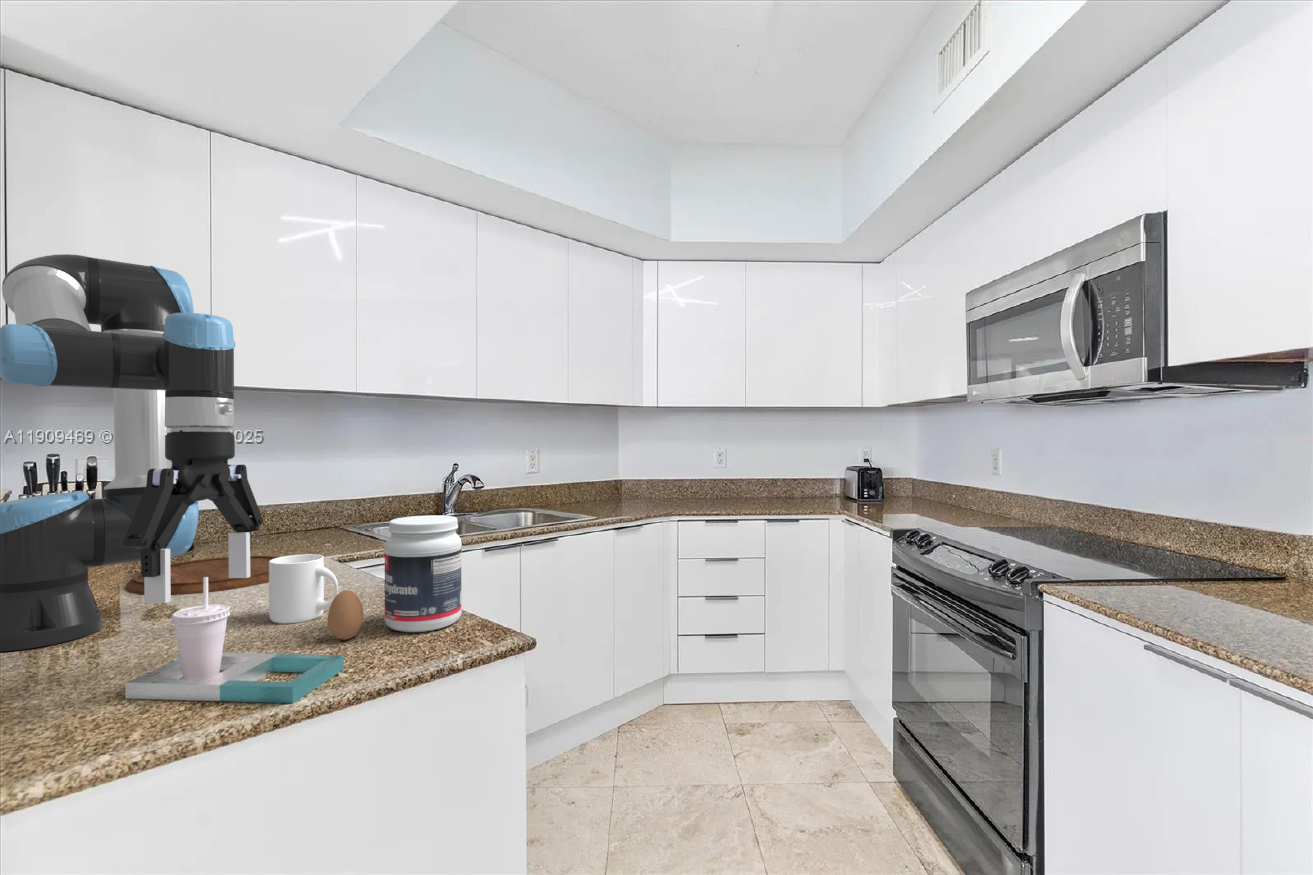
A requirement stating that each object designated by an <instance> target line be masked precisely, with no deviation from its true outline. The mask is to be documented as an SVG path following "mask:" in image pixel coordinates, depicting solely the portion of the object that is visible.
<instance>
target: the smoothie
mask: <svg viewBox="0 0 1313 875" xmlns="http://www.w3.org/2000/svg"><path fill="white" fill-rule="evenodd" d="M202 596H203V597H202V605H196V606H190V607H186V608H183V609H179V610H177V611H175V612H173V613H172V614H171V621H170V623H172V624H173V625H174V626H175V634H176V635H175V636H176V640H177V646H178V653H179V659H180V660H181V666H182V672H183V677H182V679H193V680H207V679H209V678H211V677H213V676H215V675H217V674H219V673H221V672H220V666H221V659H222V653H224V652H223V649H224V643H225V636H226V631H227V630H226V629H227V623H228V622H227V621H228V617H229V616H230V615H231V606H230V605H227V604H220V603H219V604H217V603H216V604H215V603H214V604H209V592H208V577H203V593H202Z"/></svg>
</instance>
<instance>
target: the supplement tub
mask: <svg viewBox="0 0 1313 875" xmlns="http://www.w3.org/2000/svg"><path fill="white" fill-rule="evenodd" d="M388 526H389V528H388V532H389V533H390V535H391V536H390V537H389V538H388V539H387V540H386V542H385V544H384V622H385V624H386V626H387V627H388V628H390V629H392V630H394V631H398V632H402V633H403V632H404V633H423V632H424V633H425V632H430V631H436V630H441V629H442V628H445V627H448V626H451V625H452V624H454V623H456V622H457V621H458V620H459V619H460V618H461V615H462V612H463V610H462V606H463V605H462V545H463V544H462V539H461V537H460V536H459V535H458V534H457V533H456V530H457V529H458V528H459V523H458V517H456V516H453V515H443V514H442V515H433V514H432V515H414V516H405V517H398V518H394V519H391V520H389V525H388Z"/></svg>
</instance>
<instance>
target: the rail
mask: <svg viewBox="0 0 1313 875" xmlns="http://www.w3.org/2000/svg"><path fill="white" fill-rule="evenodd" d="M344 668H345V667H344V655H343V654H342V655H341V654H311V653H310V654H304V653H297V654H295V653H264V652H263V653H257V652H222V659H221V666H220V671H221V672H220V673H219V674H217V675H215V676H213V677H211V678H209V679H207V680H193V679H183V672H182V666H181V660H180V658H179V659H177V660H174V661H172V662H170V663H168V664H165V665H162V666H161V667H158V668H156V669H153V670H152V671H151V670H150V671H149V672H147V673H145V674H142V675H140V676H137V677H135V678H133V679H131V680H129V681H126V682H125V683H124V684H125V687H124V689H125V692H124V693H125V697H124V698H125V699H129V700H130V699H131V700H133V699H134V700H162V701H163V700H166V701H170V700H171V701H194V702H195V701H196V702H197V701H199V702H201V701H202V702H205V701H206V702H233V703H234V702H236V703H237V702H238V703H239V702H240V703H269V704H270V703H271V704H273V703H274V704H275V703H277V704H294V703H295V702H297V701H298V700H300V699H301V698H303V697H304V696H306V695H307V694H309V693H310V692H312V691H313V690H315V689H316V688H318V687H320V686H321V685H322V684H324V683H325V682H327V681H328V680H330V679H331V678H332V677H334V676H336V675H337V674H339V673H340V672H342V671H343V670H344ZM271 673H299V674H300V673H301V674H300V675H298V676H296V677H295V678H294V679H291V680H290V681H267V680H266V681H265V680H264V681H262V680H260V679H262V678H264V677H265V676H267V675H269V674H271ZM259 680H260V681H259Z"/></svg>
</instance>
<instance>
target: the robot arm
mask: <svg viewBox="0 0 1313 875" xmlns="http://www.w3.org/2000/svg"><path fill="white" fill-rule="evenodd" d="M1 290H2V291H1V292H2V293H1V294H2V298H3V300H4V302H5V304H6V306H7V307H8V308H9V309H10V311H12V312H13V313H14V318H15V323H7V324H3V325H2V326H1V327H0V378H1V380H3V381H5V382H7V383H9V384H19V385H20V384H21V385H33V386H35V387H41V388H42V387H67V388H68V387H69V388H71V387H72V388H98V389H99V388H100V389H101V388H102V389H113V426H114V429H113V431H114V432H113V433H114V434H113V435H114V478H113V480H112V481H110V482H109V483H108V484H107V485H105V486H104V487H103V497H102V498H92V499H91V498H90V496H89V494H88V492H86V491H83V490H81V491H80V490H79V491H69V492H59V493H50V494H44V495H35V496H30V497H24V498H20V499H13V500H8V501H4V502H1V503H0V652H10V651H20V650H29V649H36V648H41V647H46V646H52V645H56V644H60V643H65V642H69V641H72V640H76V639H79V638H83V637H86V636H88V635H92V634H93V633H95V632H97V631H99V630H101V629H102V628H103V613H102V611H101V610H100V609H99V607H98V604H97V601H96V599H95V596H94V594H93V591H92V590H91V587H90V584H89V568H91V567H102V566H110V565H118V564H119V565H120V564H126V563H135V562H137V563H138V562H140V572H141V575H142V577H144V594H145V595H144V604H167V603H170V602H171V601H172V598H171V596H172V595H171V582H170V564H171V558H172V557H178V556H181V555H182V556H183V555H184V554H186V553H187V552H188V551H189V550H190V548H191V546H193V543H194V540H195V537H196V533H197V528H198V523H199V515H200V514H199V513H200V512H199V508H200V507H199V502H200V501H201V502H202V501H205V500H209V501H211V502H212V503H213V504H214V505H215V507H216V508H217V510H218V511H219V512H220V514H221V515H222V517H224V520H225V521H226V522H227V523H228V524H229V526H230V527H231V529H232V530H233V531H234V532H228V539H227V540H228V542H227V544H228V557H229V578H248V577H250V556H251V552H252V532H257V531H259V530H260V526H262V524H263V523H264V518H263V515H262V514H261V510H260V509H259V505H258V502H257V500H256V498H255V495H254V492H253V491H252V487H251V485H250V482H249V480H248V470H247V469H248V468H247V466H246V465H245V464H228V463H229V462H228V460H231V459H232V460H233V458H235V455H236V450H235V448H236V447H235V445H236V444H235V442H236V440H235V436H236V435H235V434H234V433H233V432H230V430H229V429H233V427H235V413H234V412H235V409H234V408H235V407H234V406H235V405H234V399H235V395H234V393H235V347H236V342H235V337H234V326H233V324H232V322H231V321H230V320H229V319H227V318H225V317H222V316H218V315H214V314H207V313H200V312H199V313H196V312H194V310H195V309H194V303H193V297H192V292H191V290H190V287H189V285H188V283H187V280H186V279H185V278H184V276H183V275H181V274H180V273H179V272H177V271H174V270H171V269H165V268H159V267H156V266H155V265H144V264H143V265H142V264H136V263H129V262H123V261H115V260H110V259H105V258H97V257H90V256H87V255H82V254H81V255H80V254H68V253H67V254H62V253H61V254H51V255H44V256H39V257H35V258H31V259H28V260H25V261H23V262H21V263H19V264H18V265H15V266H14V267H13V268H11V269H10V270H9V271H8V272H7V273H6V275H5V277H3V281H2V286H1ZM90 325H98V326H100V331H99V330H98V331H97V330H96V331H95V330H92V329H91V326H90Z"/></svg>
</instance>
